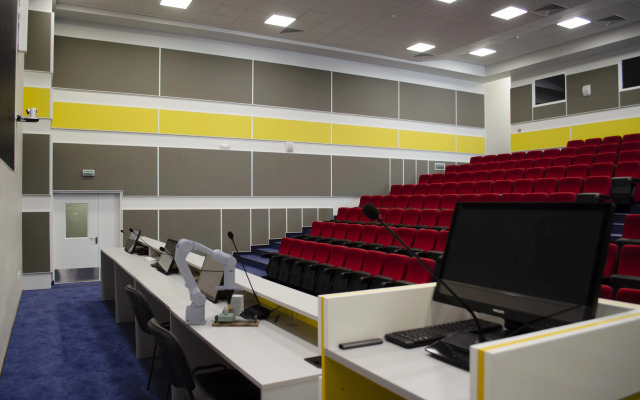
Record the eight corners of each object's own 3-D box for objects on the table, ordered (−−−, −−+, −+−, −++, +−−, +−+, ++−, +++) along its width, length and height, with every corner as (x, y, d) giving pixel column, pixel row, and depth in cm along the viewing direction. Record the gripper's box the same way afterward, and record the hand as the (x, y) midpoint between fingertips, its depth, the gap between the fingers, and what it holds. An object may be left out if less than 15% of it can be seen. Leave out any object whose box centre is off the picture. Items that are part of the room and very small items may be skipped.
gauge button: (225, 310, 241) (225, 306, 241) (226, 308, 244) (226, 304, 244) (231, 310, 241) (231, 306, 241) (232, 308, 245) (232, 305, 245)
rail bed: (211, 326, 229) (211, 318, 229) (215, 321, 239) (215, 313, 239) (257, 326, 230) (257, 318, 230) (259, 321, 240) (259, 313, 240)
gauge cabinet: (222, 321, 239) (222, 311, 239) (223, 317, 246) (224, 308, 246) (233, 321, 240) (233, 311, 240) (235, 317, 246) (235, 308, 246)
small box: (243, 313, 256) (243, 294, 256) (240, 315, 251) (241, 296, 251) (229, 312, 257) (230, 294, 257) (226, 315, 252) (227, 296, 252)
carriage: (217, 321, 230) (218, 307, 230) (220, 317, 237) (220, 304, 237) (231, 321, 231) (232, 307, 231) (233, 317, 238) (233, 304, 238)
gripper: (214, 279, 239) (214, 305, 239) (242, 279, 239) (241, 305, 239) (216, 277, 246) (216, 302, 246) (243, 277, 246) (243, 302, 246)
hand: (229, 303), depth 243 cm, fingers closed
